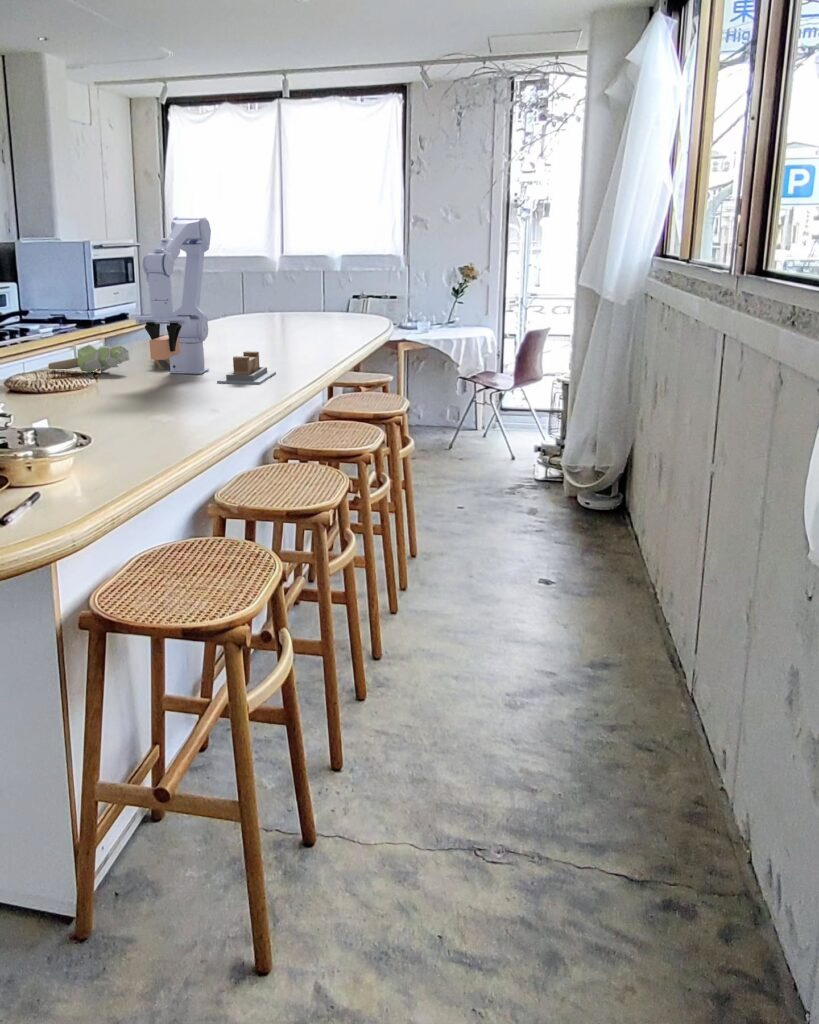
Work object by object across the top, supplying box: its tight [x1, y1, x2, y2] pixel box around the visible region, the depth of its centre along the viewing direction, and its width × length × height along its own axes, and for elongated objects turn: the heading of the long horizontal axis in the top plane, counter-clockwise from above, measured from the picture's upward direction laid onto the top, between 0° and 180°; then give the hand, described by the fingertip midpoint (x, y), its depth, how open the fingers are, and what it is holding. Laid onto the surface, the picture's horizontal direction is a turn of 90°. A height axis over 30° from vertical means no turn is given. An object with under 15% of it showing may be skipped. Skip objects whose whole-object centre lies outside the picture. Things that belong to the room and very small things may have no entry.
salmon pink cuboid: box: [149, 334, 180, 361], centre depth 229 cm, size 12×4×5 cm, turn 175°
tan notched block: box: [232, 350, 261, 375], centre depth 237 cm, size 12×4×6 cm, turn 174°
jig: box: [216, 366, 277, 385], centre depth 238 cm, size 12×18×2 cm, turn 175°
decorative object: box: [47, 344, 131, 374], centre depth 244 cm, size 9×10×25 cm
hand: (165, 350), depth 229 cm, fingers closed on salmon pink cuboid, 4 cm apart
